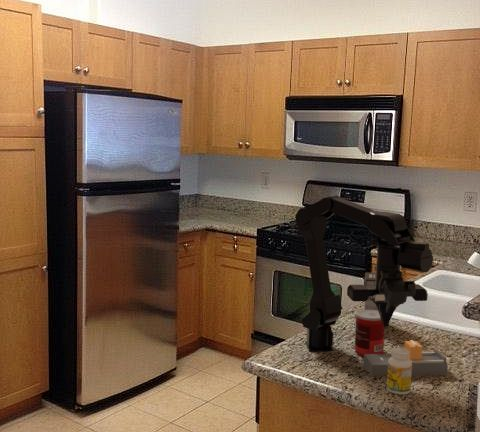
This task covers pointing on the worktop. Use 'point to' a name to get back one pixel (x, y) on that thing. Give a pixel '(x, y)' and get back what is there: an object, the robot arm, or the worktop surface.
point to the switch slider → (414, 350)
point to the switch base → (426, 367)
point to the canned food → (369, 333)
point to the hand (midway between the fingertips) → (385, 325)
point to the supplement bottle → (399, 372)
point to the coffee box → (369, 284)
